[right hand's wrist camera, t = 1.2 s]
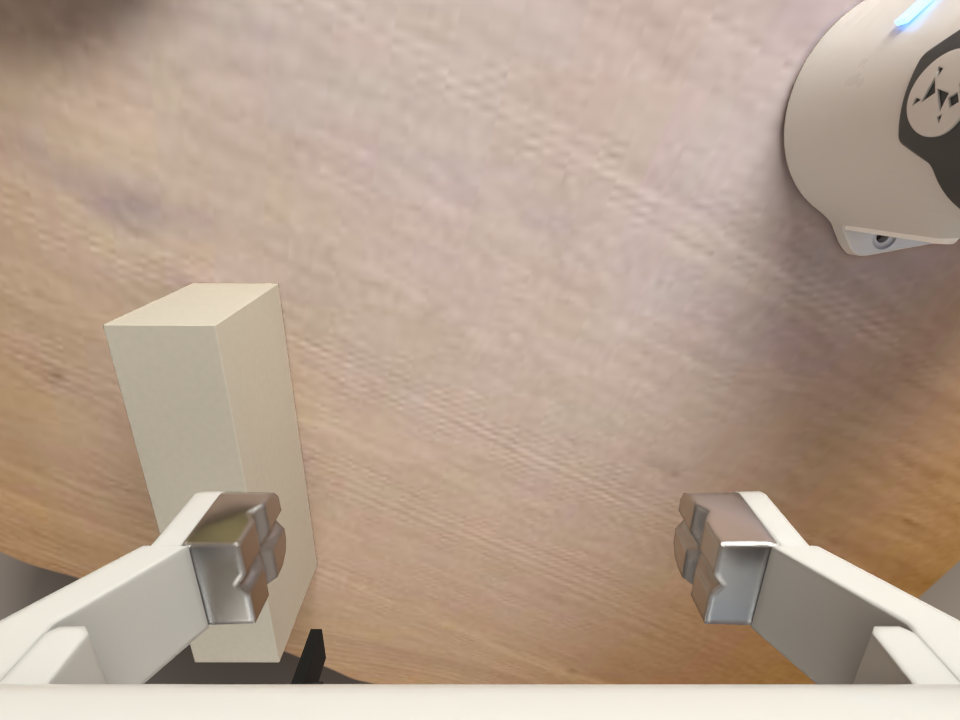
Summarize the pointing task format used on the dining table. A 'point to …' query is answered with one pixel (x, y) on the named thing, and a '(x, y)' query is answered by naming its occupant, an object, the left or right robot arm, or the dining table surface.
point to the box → (220, 430)
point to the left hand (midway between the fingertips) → (221, 642)
